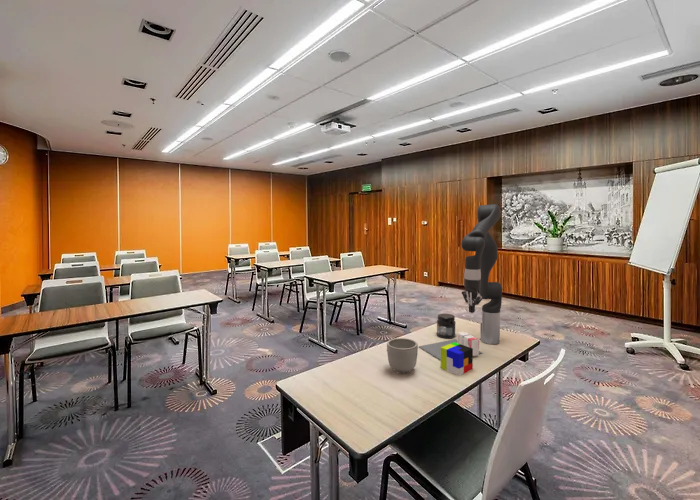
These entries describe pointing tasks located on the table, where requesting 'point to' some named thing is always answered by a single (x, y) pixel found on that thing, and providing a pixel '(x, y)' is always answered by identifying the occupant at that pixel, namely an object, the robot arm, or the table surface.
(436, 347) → the mat
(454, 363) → the puzzle toy
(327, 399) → the table surface
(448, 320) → the supplement container
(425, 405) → the table surface
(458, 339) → the ink box
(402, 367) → the planter
